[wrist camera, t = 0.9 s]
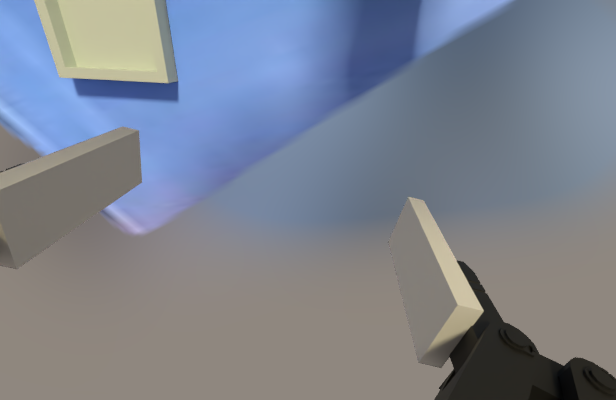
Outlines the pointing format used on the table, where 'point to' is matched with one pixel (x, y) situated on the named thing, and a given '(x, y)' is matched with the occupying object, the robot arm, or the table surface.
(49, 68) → the table surface
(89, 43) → the tray
